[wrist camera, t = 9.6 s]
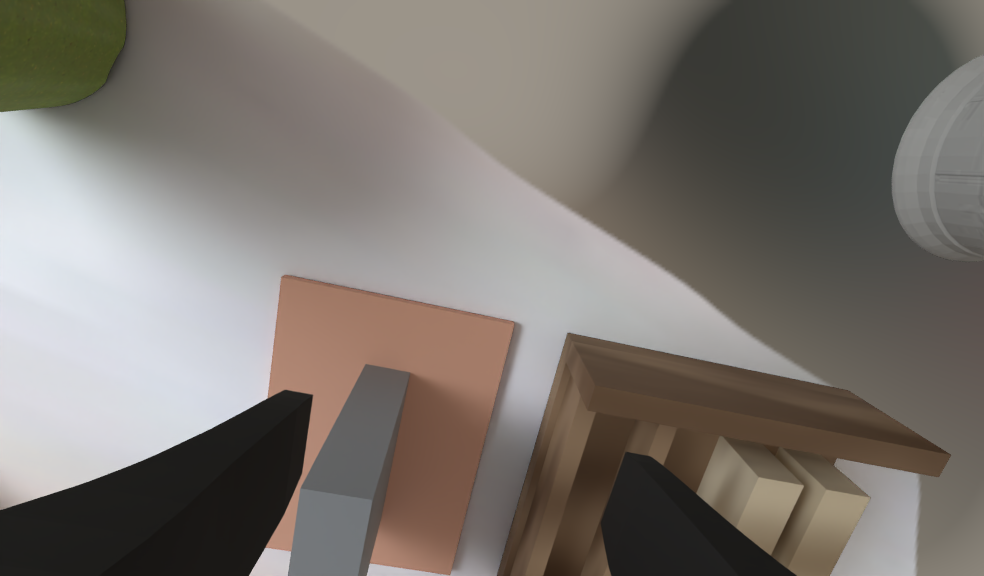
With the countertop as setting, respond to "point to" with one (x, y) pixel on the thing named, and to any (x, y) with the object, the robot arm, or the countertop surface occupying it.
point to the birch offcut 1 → (750, 489)
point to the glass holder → (945, 168)
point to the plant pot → (57, 50)
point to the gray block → (350, 480)
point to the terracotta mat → (426, 413)
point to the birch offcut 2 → (817, 515)
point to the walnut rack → (672, 440)
